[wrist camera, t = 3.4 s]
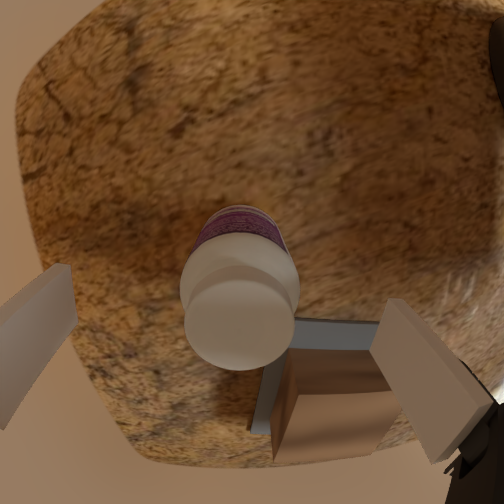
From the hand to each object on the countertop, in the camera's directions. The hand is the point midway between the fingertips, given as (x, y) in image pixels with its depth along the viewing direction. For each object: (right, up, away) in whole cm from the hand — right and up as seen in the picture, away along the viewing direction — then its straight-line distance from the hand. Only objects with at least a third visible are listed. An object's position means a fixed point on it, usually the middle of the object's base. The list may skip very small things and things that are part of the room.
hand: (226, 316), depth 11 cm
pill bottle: (0, +3, +8) cm, 9 cm away
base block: (+8, -9, +12) cm, 17 cm away
